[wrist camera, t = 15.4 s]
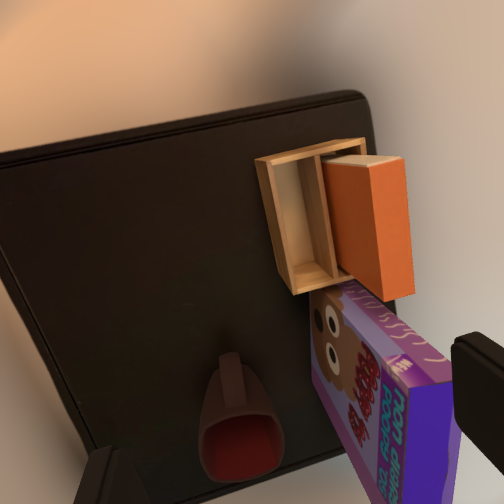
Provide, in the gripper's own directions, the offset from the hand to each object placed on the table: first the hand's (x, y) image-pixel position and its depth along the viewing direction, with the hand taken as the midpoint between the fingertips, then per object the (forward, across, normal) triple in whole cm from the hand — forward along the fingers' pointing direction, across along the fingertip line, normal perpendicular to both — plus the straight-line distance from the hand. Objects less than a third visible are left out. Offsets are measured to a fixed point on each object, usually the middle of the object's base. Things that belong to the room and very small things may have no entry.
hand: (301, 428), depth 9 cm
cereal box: (+35, -11, +21) cm, 42 cm away
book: (+34, -14, +3) cm, 37 cm away
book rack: (+35, -11, +3) cm, 37 cm away
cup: (+35, +4, +23) cm, 43 cm away
